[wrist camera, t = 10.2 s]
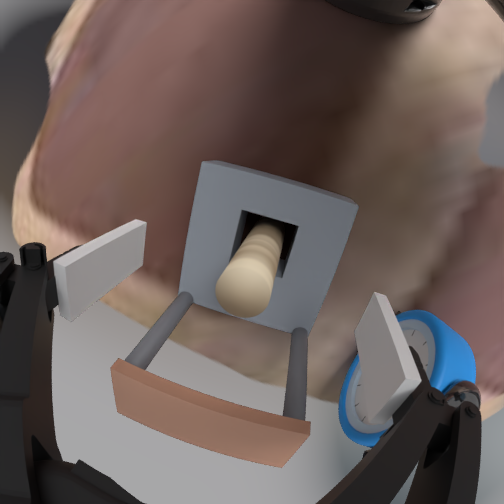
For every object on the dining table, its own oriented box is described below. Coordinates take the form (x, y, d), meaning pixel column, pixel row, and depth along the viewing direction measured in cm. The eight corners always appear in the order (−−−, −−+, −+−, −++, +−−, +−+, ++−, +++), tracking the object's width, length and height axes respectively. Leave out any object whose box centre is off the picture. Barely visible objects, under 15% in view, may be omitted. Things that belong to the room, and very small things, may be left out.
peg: (258, 211, 25) (221, 260, 14) (289, 221, 25) (277, 278, 13) (250, 240, 26) (210, 307, 15) (279, 249, 26) (261, 324, 14)
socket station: (217, 160, 24) (111, 172, 10) (349, 198, 23) (414, 258, 9) (187, 310, 30) (117, 412, 16) (294, 344, 29) (281, 467, 15)
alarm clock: (412, 283, 24) (480, 390, 10) (445, 310, 25) (508, 408, 11) (333, 369, 29) (337, 485, 15) (369, 387, 29) (385, 492, 15)
